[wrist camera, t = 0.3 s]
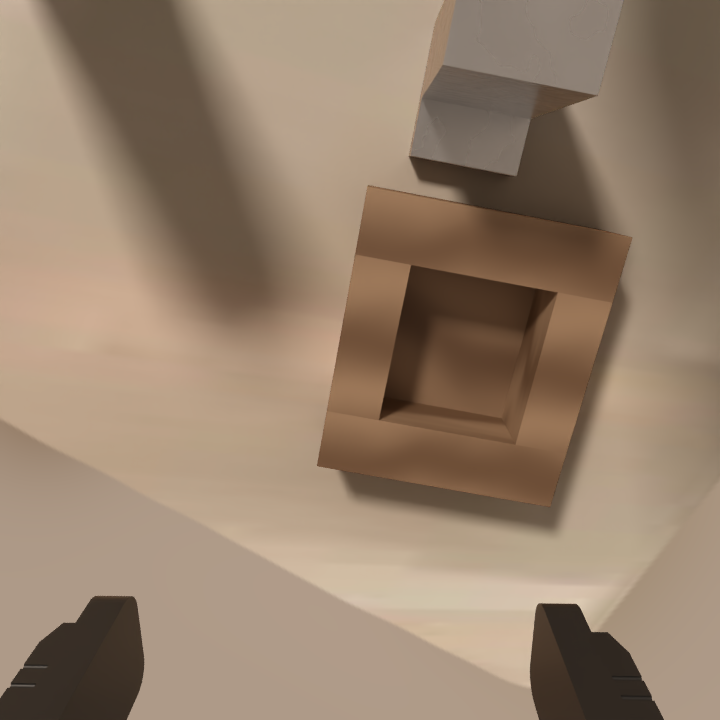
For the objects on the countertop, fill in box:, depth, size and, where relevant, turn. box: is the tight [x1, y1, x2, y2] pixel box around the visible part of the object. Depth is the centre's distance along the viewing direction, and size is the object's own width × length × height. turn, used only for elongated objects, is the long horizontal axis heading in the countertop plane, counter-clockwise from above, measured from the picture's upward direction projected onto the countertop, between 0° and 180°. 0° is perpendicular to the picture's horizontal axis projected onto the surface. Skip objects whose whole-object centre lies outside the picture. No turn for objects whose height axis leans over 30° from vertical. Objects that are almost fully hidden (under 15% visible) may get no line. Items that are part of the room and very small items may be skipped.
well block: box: [317, 185, 632, 507], centre depth 37 cm, size 16×14×4 cm
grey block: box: [409, 0, 624, 176], centre depth 29 cm, size 7×6×12 cm
